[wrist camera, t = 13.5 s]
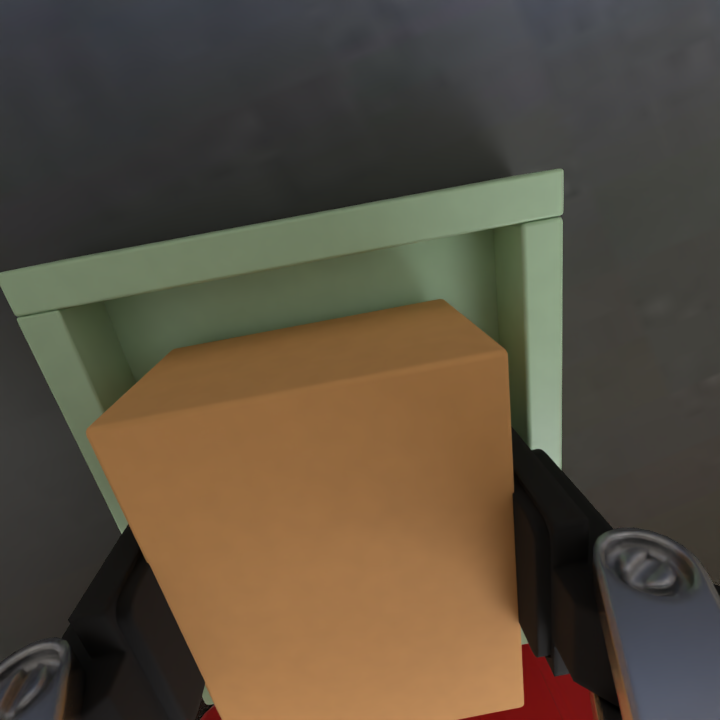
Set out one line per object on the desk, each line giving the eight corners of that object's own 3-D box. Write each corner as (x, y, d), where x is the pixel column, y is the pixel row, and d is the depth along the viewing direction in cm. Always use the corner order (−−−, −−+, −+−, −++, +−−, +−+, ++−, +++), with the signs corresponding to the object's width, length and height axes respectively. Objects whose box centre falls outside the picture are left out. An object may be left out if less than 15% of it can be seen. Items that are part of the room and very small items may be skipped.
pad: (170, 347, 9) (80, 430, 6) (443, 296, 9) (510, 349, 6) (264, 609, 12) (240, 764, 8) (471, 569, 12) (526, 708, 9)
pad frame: (64, 259, 9) (-9, 274, 7) (514, 175, 9) (565, 167, 7) (223, 633, 13) (205, 707, 11) (528, 575, 13) (562, 638, 12)
